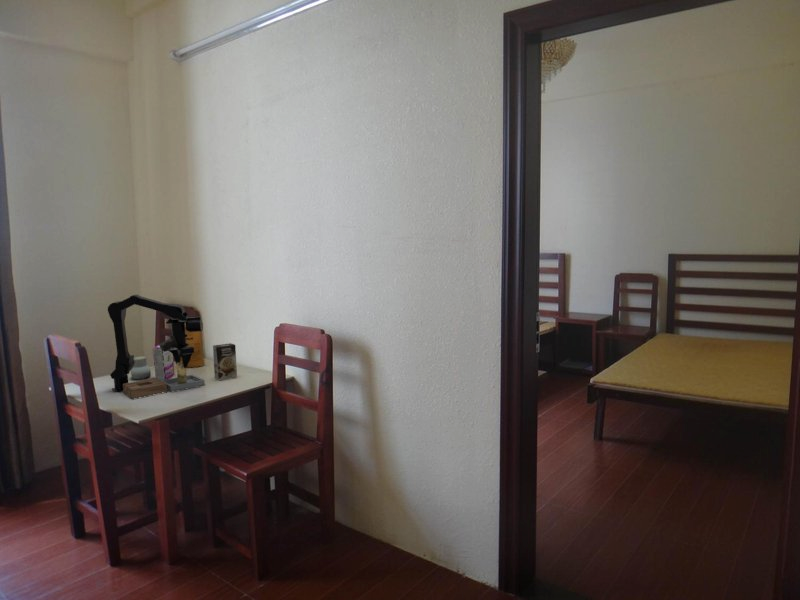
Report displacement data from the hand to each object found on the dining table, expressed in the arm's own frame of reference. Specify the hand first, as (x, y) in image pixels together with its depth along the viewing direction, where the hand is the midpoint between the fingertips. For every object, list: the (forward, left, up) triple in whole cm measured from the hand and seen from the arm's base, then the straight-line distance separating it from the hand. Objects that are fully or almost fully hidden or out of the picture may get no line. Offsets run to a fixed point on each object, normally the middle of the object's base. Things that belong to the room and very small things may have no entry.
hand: (181, 366), depth 251 cm
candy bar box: (-20, -1, -9) cm, 22 cm away
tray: (0, 0, -9) cm, 9 cm away
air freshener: (-30, -9, -9) cm, 33 cm away
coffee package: (-35, +18, -9) cm, 40 cm away
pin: (0, 0, -8) cm, 8 cm away
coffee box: (+2, +20, -9) cm, 22 cm away
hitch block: (-1, -16, -9) cm, 18 cm away
